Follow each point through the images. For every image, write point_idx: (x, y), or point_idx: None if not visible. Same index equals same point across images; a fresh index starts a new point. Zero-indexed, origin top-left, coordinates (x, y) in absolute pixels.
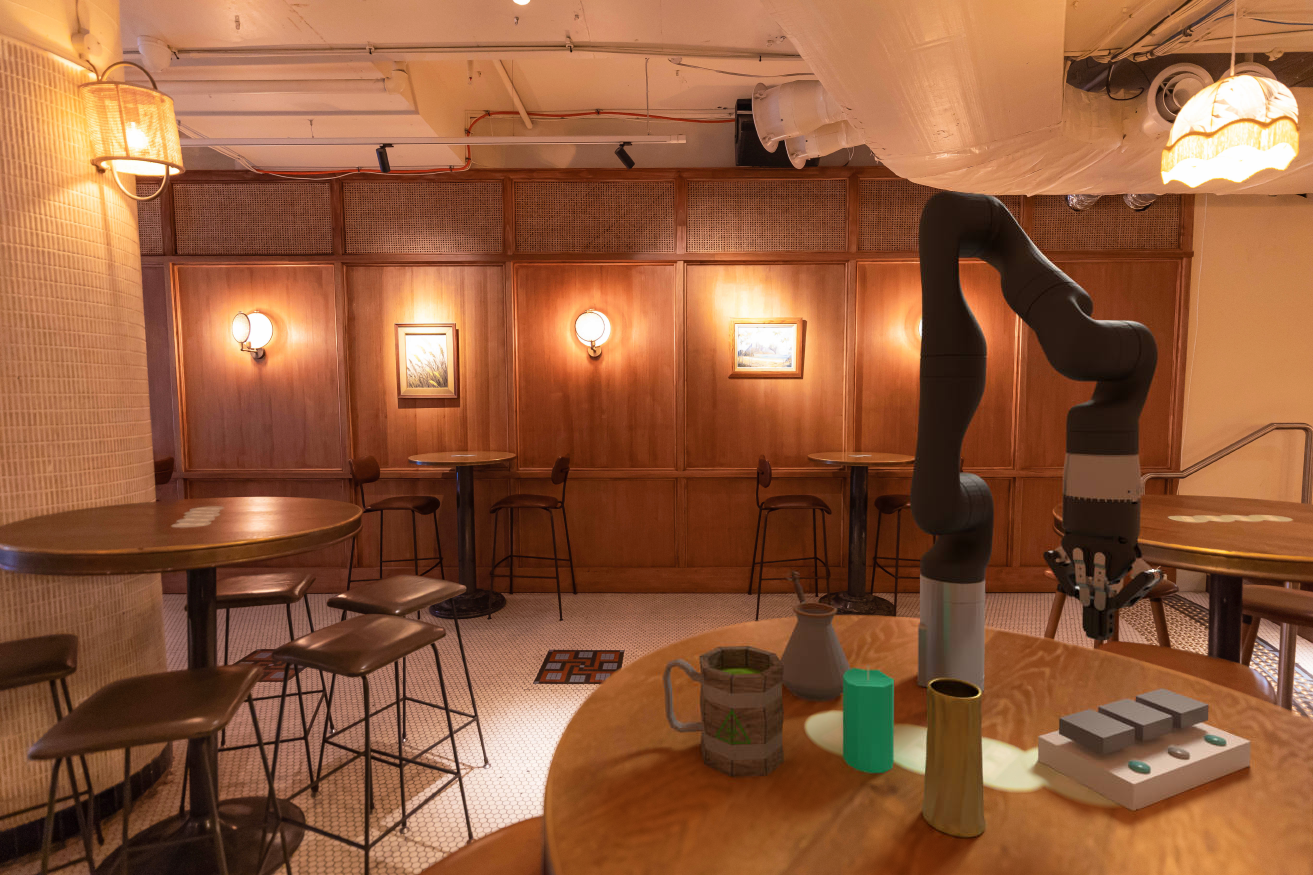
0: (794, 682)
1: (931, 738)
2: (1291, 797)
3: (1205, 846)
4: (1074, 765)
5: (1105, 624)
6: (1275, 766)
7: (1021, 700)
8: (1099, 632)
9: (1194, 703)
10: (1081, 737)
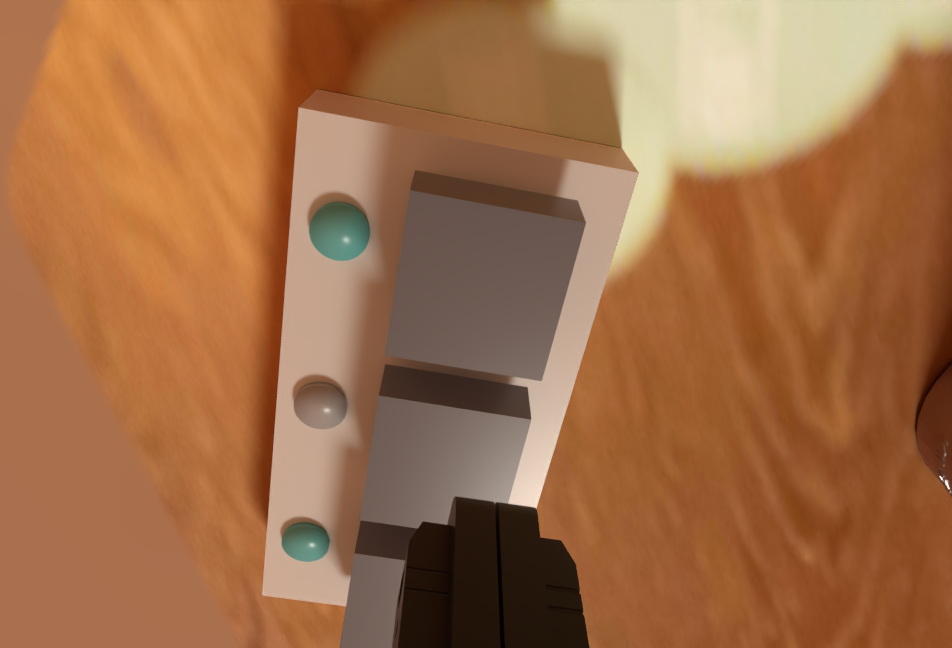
0: None
1: None
2: (165, 474)
3: (132, 72)
4: (500, 136)
5: (413, 593)
6: (249, 578)
7: (798, 467)
8: (453, 538)
9: (365, 633)
10: (493, 192)
